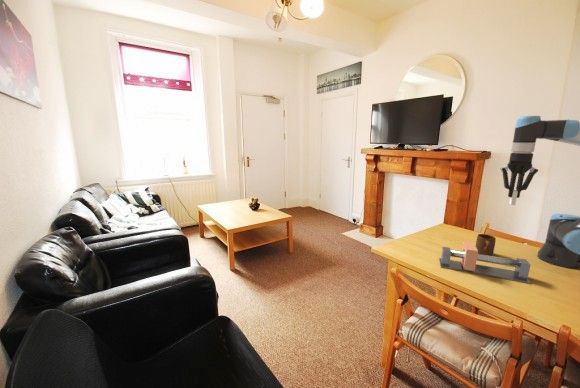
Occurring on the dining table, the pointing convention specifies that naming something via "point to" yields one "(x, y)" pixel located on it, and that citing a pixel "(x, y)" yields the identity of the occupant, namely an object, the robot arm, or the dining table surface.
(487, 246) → the mug
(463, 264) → the collar
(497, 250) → the dining table surface
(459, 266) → the pipe rig
